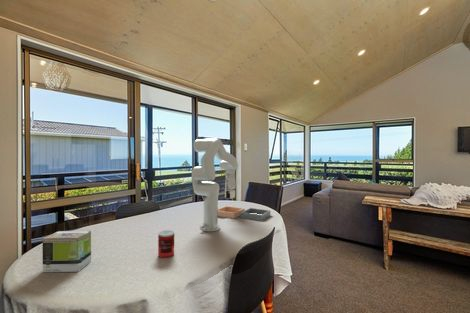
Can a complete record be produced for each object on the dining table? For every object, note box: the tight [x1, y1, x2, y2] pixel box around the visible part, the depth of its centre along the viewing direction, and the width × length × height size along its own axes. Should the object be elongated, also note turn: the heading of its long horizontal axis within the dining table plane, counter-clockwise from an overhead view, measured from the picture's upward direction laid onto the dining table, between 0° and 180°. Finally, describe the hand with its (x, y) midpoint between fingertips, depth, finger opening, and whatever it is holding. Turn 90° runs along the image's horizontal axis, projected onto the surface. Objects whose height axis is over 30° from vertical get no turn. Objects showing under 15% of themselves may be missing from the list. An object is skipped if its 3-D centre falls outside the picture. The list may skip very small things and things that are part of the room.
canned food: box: [157, 229, 175, 259], centre depth 116 cm, size 8×8×11 cm
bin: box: [239, 207, 271, 222], centre depth 185 cm, size 18×18×5 cm
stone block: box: [224, 190, 236, 199], centre depth 191 cm, size 6×6×6 cm
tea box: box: [42, 230, 92, 273], centre depth 103 cm, size 15×10×15 cm, turn 92°
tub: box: [218, 205, 246, 219], centre depth 191 cm, size 18×18×5 cm
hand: (230, 197), depth 191 cm, fingers closed on stone block, 6 cm apart
